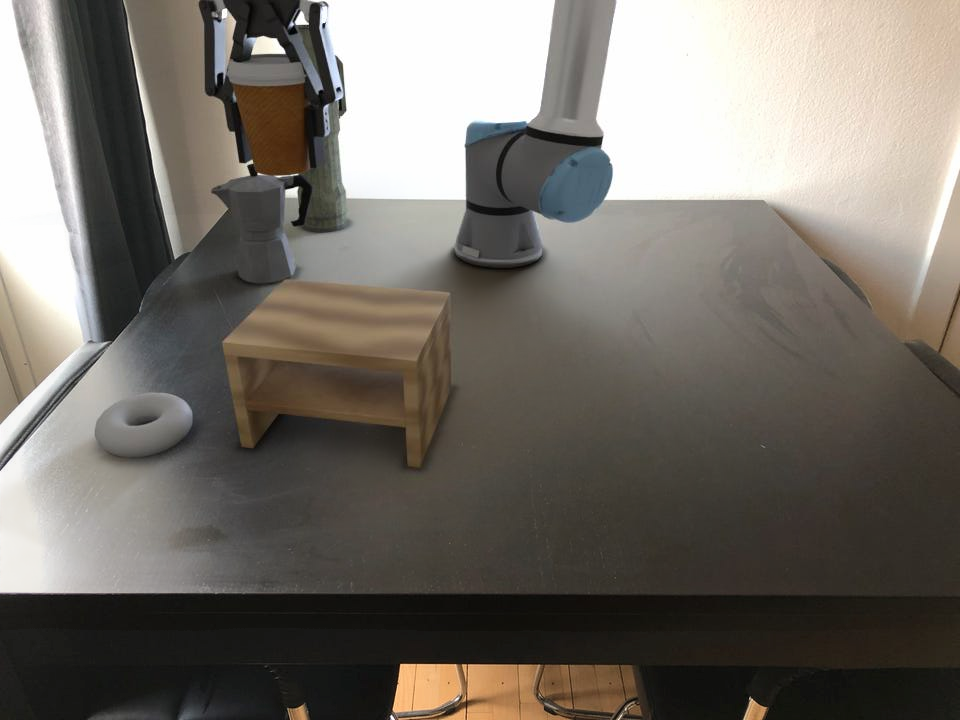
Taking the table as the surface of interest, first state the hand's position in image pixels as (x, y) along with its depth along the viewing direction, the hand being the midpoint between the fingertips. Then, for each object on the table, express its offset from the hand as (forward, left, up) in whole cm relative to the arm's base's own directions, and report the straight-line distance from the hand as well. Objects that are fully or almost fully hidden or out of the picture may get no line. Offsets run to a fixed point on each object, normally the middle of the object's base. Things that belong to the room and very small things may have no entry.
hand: (282, 162), depth 86 cm
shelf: (+13, +11, -25) cm, 31 cm away
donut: (+21, -10, -26) cm, 35 cm away
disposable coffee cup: (0, 0, -1) cm, 1 cm away
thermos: (-49, -15, -26) cm, 57 cm away
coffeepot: (-25, -15, -26) cm, 39 cm away
